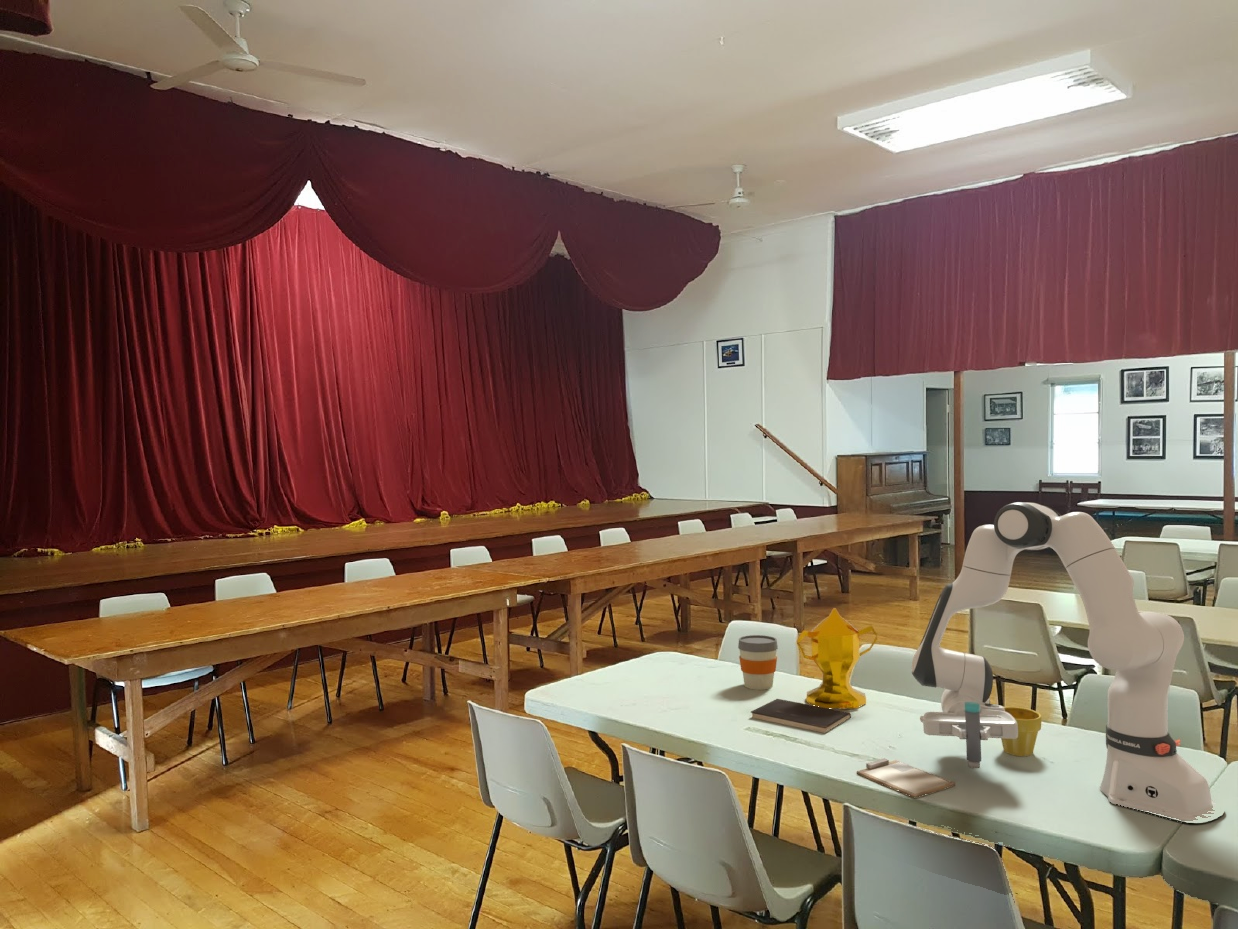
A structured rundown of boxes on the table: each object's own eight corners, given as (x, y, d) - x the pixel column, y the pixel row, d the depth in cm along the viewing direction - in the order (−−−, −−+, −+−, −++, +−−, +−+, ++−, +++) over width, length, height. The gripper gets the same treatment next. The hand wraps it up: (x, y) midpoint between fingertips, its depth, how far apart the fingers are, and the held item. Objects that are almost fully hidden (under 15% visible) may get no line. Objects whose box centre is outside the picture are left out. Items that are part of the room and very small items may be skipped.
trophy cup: (888, 709, 250) (886, 612, 249) (805, 712, 248) (804, 615, 247) (866, 691, 267) (865, 602, 266) (789, 695, 265) (787, 604, 265)
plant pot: (1039, 762, 206) (1038, 721, 206) (992, 755, 211) (992, 715, 211) (1043, 749, 215) (1043, 710, 214) (999, 742, 220) (998, 704, 220)
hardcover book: (825, 735, 230) (825, 727, 229) (750, 719, 244) (750, 711, 244) (851, 720, 242) (850, 712, 242) (778, 705, 256) (778, 698, 256)
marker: (984, 767, 191) (982, 704, 191) (975, 770, 189) (973, 706, 189) (972, 763, 193) (970, 701, 193) (963, 766, 192) (961, 703, 192)
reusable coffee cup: (784, 683, 278) (783, 637, 278) (769, 693, 268) (768, 645, 267) (748, 678, 285) (747, 633, 285) (732, 688, 274) (731, 641, 274)
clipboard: (955, 785, 193) (954, 778, 193) (914, 798, 186) (914, 791, 186) (894, 762, 208) (894, 755, 208) (855, 773, 201) (855, 766, 201)
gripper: (918, 702, 206) (923, 720, 193) (1010, 706, 201) (1022, 724, 188) (919, 729, 206) (924, 748, 193) (1011, 733, 201) (1023, 752, 188)
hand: (973, 736), depth 190 cm, fingers closed on marker, 3 cm apart
